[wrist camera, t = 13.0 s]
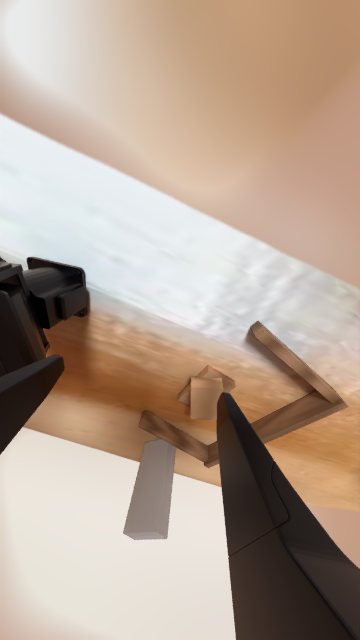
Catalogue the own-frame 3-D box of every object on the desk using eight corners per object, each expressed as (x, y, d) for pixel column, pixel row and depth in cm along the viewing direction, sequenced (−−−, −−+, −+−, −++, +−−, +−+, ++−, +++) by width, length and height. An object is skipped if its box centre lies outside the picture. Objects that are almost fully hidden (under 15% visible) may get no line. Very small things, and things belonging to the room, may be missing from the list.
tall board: (145, 442, 37) (122, 533, 26) (169, 437, 35) (156, 532, 24) (152, 449, 38) (134, 539, 27) (176, 445, 36) (167, 539, 25)
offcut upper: (190, 408, 28) (190, 418, 27) (191, 377, 25) (190, 387, 24) (217, 409, 28) (219, 420, 26) (221, 378, 25) (223, 388, 23)
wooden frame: (142, 413, 32) (137, 429, 30) (258, 320, 21) (266, 333, 19) (207, 450, 36) (208, 468, 33) (332, 388, 25) (348, 406, 23)
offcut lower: (179, 391, 29) (178, 400, 28) (207, 362, 26) (208, 370, 24) (202, 403, 30) (202, 413, 29) (233, 377, 27) (235, 386, 25)
